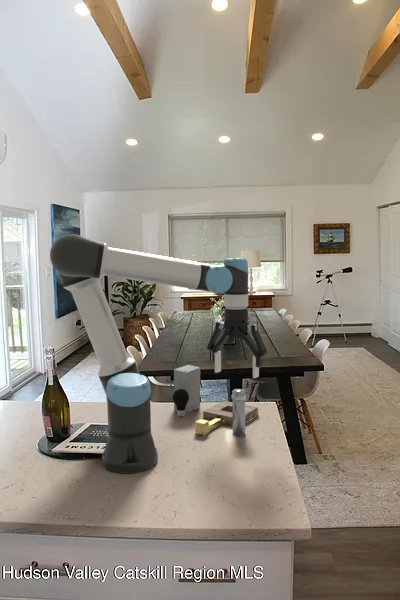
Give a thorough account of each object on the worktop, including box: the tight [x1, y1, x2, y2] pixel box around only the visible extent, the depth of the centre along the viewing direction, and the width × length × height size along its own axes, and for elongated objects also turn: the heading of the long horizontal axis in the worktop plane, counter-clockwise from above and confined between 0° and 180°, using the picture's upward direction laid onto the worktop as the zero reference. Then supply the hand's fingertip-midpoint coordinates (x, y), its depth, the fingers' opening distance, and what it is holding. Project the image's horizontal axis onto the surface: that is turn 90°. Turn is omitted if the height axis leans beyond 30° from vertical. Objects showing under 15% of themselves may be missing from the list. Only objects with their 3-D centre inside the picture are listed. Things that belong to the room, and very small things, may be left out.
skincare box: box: [173, 364, 201, 414], centre depth 175 cm, size 8×7×16 cm
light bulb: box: [172, 389, 189, 418], centre depth 167 cm, size 6×6×10 cm
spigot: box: [231, 388, 247, 437], centre depth 150 cm, size 5×5×14 cm
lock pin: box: [194, 418, 223, 437], centre depth 155 cm, size 12×3×4 cm, turn 146°
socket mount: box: [202, 400, 259, 427], centre depth 166 cm, size 14×14×3 cm
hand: (236, 374), depth 150 cm, fingers open, 13 cm apart
